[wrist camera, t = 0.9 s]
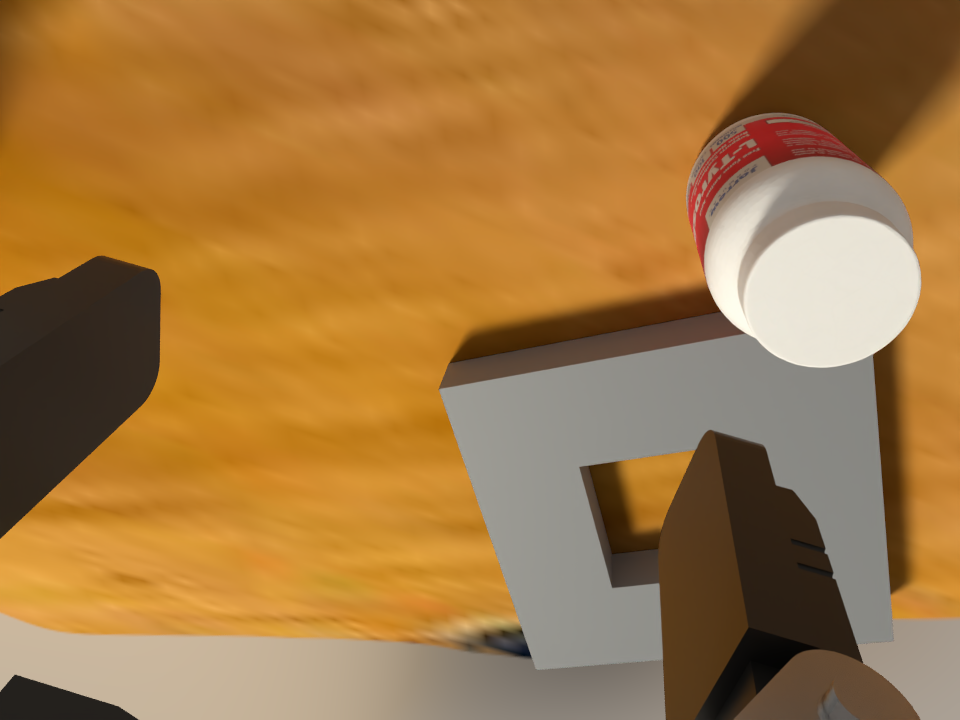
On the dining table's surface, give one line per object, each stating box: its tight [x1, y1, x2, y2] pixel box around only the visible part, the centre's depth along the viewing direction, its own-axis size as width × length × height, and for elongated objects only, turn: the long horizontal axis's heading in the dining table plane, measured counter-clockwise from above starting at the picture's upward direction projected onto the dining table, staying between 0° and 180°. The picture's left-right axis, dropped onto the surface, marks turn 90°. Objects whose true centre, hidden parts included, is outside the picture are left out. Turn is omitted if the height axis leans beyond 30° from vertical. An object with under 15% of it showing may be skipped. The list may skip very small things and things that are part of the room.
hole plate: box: [439, 312, 894, 670], centre depth 37 cm, size 18×18×2 cm
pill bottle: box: [686, 113, 921, 368], centre depth 26 cm, size 6×6×11 cm
